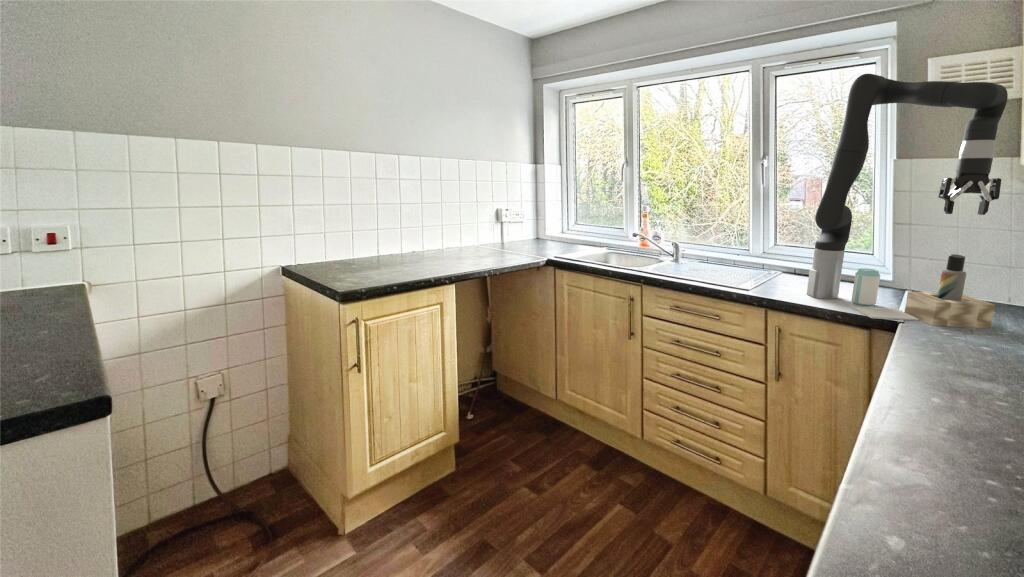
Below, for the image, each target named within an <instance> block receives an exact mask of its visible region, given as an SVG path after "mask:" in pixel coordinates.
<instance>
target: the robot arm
mask: <svg viewBox="0 0 1024 577" xmlns="http://www.w3.org/2000/svg"><path fill="white" fill-rule="evenodd" d="M847 96H848V98H847V102H846V108H845V115H844V120H843V124H842V127H841V131H840V134H839V139H838V141H837V142H838V143H837V145H836V149H835V151H834V155H833V158H832V159H833V160H832V163H831V168H830V171H829V175H828V177H827V178H828V179H827V182H826V186H825V189H824V192H823V194H822V195H823V196H822V197H821V199H820V203H819V205H818V208H817V209H816V213H815V218H814V219H815V224H816V226H817V227H818V228H819V229H820V230H821V232H820V235H819V237H818V239H817V240H816V241H815V244H814V251H813V252H814V253H813V260H812V265H811V266H812V267H811V268H810V269H809V273H808V281H807V289H806V295H808V296H810V297H811V298H819V299H827V300H834V299H838V298H839V293H840V284H841V277H842V272H843V271H842V270H843V264H844V256H845V251H846V245H847V243H848V242H849V239H850V235H851V234H850V233H851V227H852V222H853V215H852V210H851V208H849V206H847V205H846V201H847V198H848V194H849V192H850V191H851V188H852V186H853V184H854V183H855V181H856V180H857V178H859V175H860V174H861V171H862V170H863V168H864V165H865V163H866V158H867V155H868V151H869V144H870V143H869V142H870V140H869V138H870V136H869V128H868V126H869V124H868V123H869V118H870V117H869V116H870V113H871V111H872V107H873V106H877V105H886V104H888V105H889V104H909V105H910V104H911V105H918V106H919V105H920V106H927V107H938V108H939V107H941V108H955V107H956V108H965V109H972V110H973V109H974V110H973V114H972V118H971V119H970V120H969V121H967V123H966V124H965V126H964V131H963V132H964V133H963V138H962V141H961V142H962V143H961V145H960V149H959V153H958V159H957V164H956V170H955V174H956V175H955V177H954V178H952V177H943V178H942V179H941V183H940V187H939V191H938V196H937V197H938V199H940V200H941V199H942V200H944V201H945V202H944V207H943V212H944V213H945V214H946V215H953V212H954V207H955V200H956V199H957V198H958V197H959V196H961V195H962V194H975V195H976V196H978V198H979V199H980V200H981V201H979V204H978V205H979V206H978V210H977V215H979V216H985V215H986V214H987V213H988V211H989V208H990V204H991V201H995V200H999V198H1000V196H1001V195H1000V194H1001V185H1002V179H1001V178H999V177H997V178H996V177H995V178H989V175H990V173H991V170H992V167H993V166H992V165H993V160H994V155H995V150H996V149H995V148H996V138H997V133H998V132H997V131H998V126H999V122H1000V121H1001V118H1002V116H1003V114H1004V111H1005V108H1006V106H1007V102H1008V97H1009V96H1008V90H1007V88H1006V87H1005V86H1004V85H1002V84H999V83H994V82H987V81H972V82H971V81H970V82H959V81H948V80H947V81H943V80H942V81H940V80H936V81H935V80H933V81H932V80H931V81H928V80H927V81H918V82H914V81H913V82H911V81H910V82H908V81H899V80H896V79H890V78H887V77H884V76H882V75H877V74H875V73H863V74H861V75H859V76H857V78H856V79H855V80H854V81H853V82H852V84H851V86H850V88H849V91H848V95H847ZM953 184H954V187H953V188H952V187H951V186H952V185H953ZM987 185H988V186H989V190H988V189H987V187H986V186H987ZM951 188H952V189H951Z"/></svg>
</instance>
